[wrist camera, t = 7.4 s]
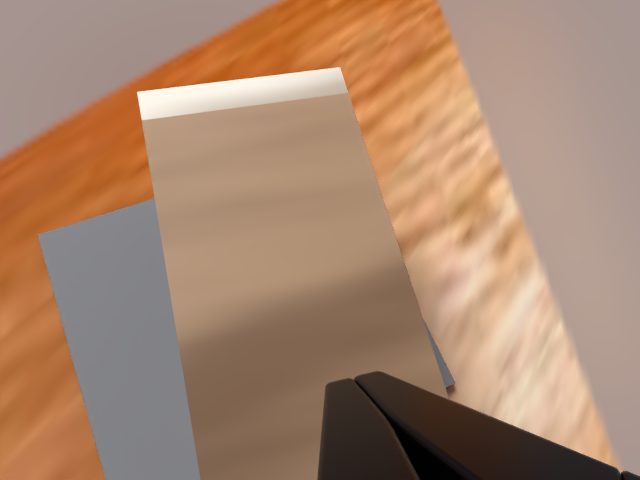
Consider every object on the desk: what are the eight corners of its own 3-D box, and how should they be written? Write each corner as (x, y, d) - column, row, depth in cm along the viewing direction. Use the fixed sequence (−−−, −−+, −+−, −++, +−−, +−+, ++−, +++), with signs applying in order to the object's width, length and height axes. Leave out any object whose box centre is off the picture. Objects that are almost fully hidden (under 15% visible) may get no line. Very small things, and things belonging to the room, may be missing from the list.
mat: (451, 383, 16) (455, 383, 15) (125, 541, 13) (123, 543, 13) (332, 146, 18) (333, 142, 18) (41, 238, 16) (37, 235, 15)
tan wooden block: (477, 485, 10) (339, 67, 13) (215, 571, 9) (137, 91, 12) (403, 471, 14) (315, 165, 18) (226, 526, 13) (167, 189, 17)
